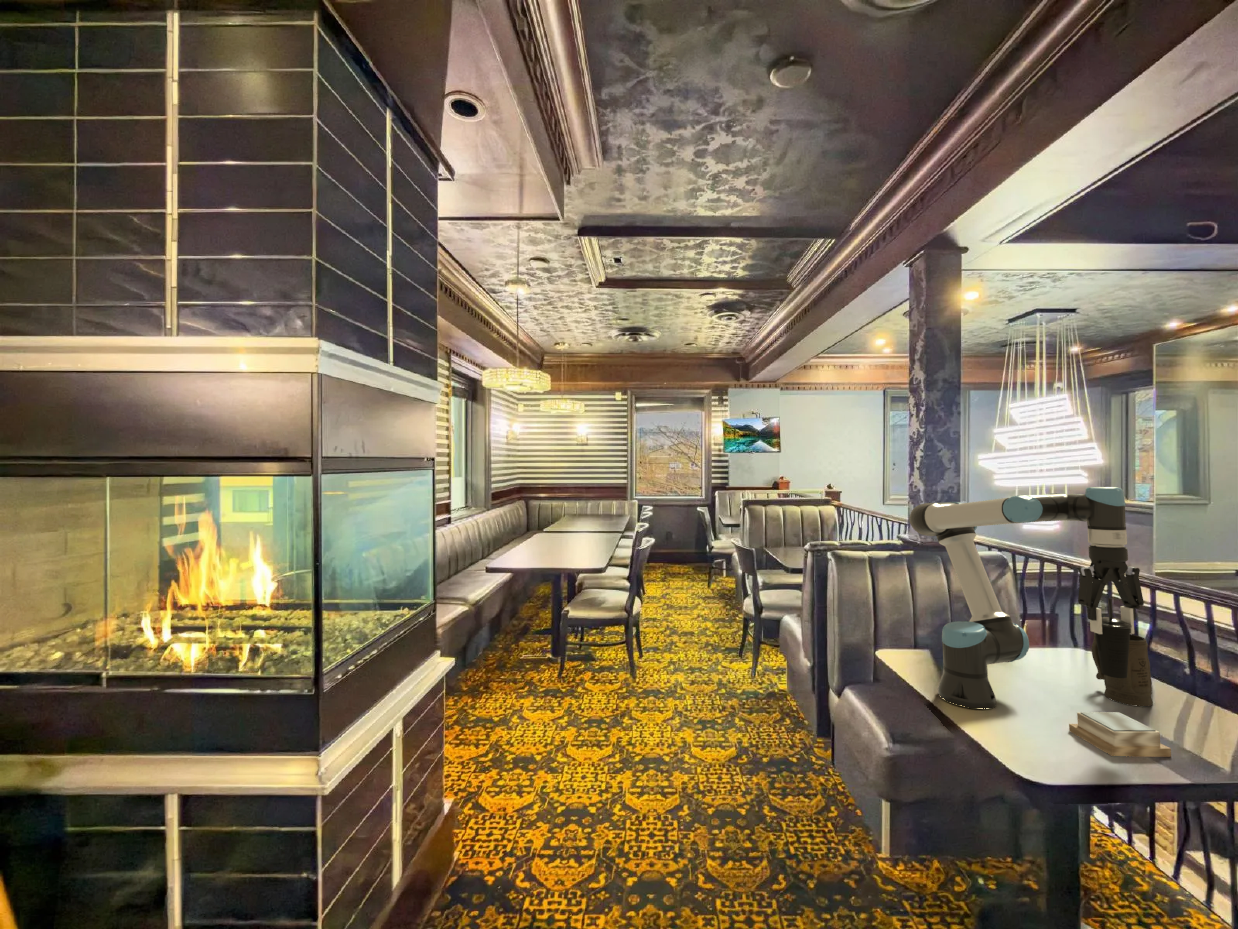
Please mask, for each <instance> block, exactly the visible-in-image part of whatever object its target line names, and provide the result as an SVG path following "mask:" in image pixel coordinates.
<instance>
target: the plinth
mask: <svg viewBox="0 0 1238 929" xmlns="http://www.w3.org/2000/svg"><path fill="white" fill-rule="evenodd" d="M1076 718H1077V723H1068V728H1069V729H1068V730H1069V732H1070V733H1072V734H1073V733H1074V735H1075V736H1077V737H1078V736H1079V738H1080V739H1082V740H1084V741H1086V742H1087V743H1089V744H1090V745H1092V746H1094V747H1095V748H1097V749H1099V750H1101V751H1102V752H1104V753H1106V754H1107V753H1108V755H1109V756H1110V757H1112V756H1126V757H1127V756H1129V758H1130V757H1131V756H1132V758H1135V757H1136V758H1137V757H1138V758H1139V757H1142V758H1146V757H1149V758H1151V757H1153V758H1154V757H1155V758H1160V757H1164V758H1165V757H1166V758H1167V757H1168V758H1170V757H1171V758H1172V748H1171V747H1169V746H1167V745H1164V744H1162V743H1161V735H1160V734H1161V733H1160V731H1158V730H1156V729H1154V728H1152V727H1150V726H1148V725H1146V724H1144V723H1142V722H1140V721H1138V720H1136V719H1133V718H1131V717H1129V716H1128V715H1125V714H1123V713H1121V712H1119V711H1115V712H1113V711H1112V712H1111V711H1108V712H1107V711H1106V712H1105V711H1101V712H1100V711H1099V712H1098V711H1093V712H1091V711H1089V712H1088V711H1087V712H1086V711H1083V712H1082V711H1080V712H1076ZM1126 757H1125V758H1126Z"/></svg>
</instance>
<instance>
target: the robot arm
mask: <svg viewBox="0 0 1238 929" xmlns="http://www.w3.org/2000/svg"><path fill="white" fill-rule="evenodd" d="M1125 501H1126V499H1125V493H1124V490H1123V488H1121V487H1117V486H1105V487H1104V486H1094V487H1093V486H1092V487H1087V488H1085V493H1081V494H1077V493H1060V492H1059V493H1056V492H1055V493H1044V494H1021V495H1020V494H1019V495H1014V496H1010V497H1004V498H1003V497H1001V498H995V499H988V500H979V501H971V502H965V503H964V502H960V501H959V502H957V501H946V502H924V503H921V504H918V505H917V506H915V507H914V508H913V509H912V510H911V512H910V514H909V523H910V526H911V528H913V530H914V531H915V532H916V533H918V534H920V535H922V536H927V537H936V539H937V542H938V543H939V544H940V545H942V547H943V546H944V547H945V550H946V551H947V554H948V557H949V559H950V562H951V564H952V567H953V569H954V573H955V574H956V578H957V580H958V583H959V585H960V587H961V592H962V593H963V596H964V599H965V601H966V603H967V606H968V608H969V611H970V614H971V618H970V619H969V620H968V621H966V620H965V621H960V620H958V621H951V622H948V623H946V624H945V625H944V626H943V627H942V630H941V631H942V633H941V643H942V661H943V662H942V663H943V664H942V665H943V673H942V675H941V678H940V681H939V684H938V686H937V687H938V688H937V690H938V694H939V695H940V696H941V698H944V699H945V700H946V701H948V702H951V703H954V704H957V705H962V706H965V707H969V708H983V709H984V708H985V710H987V709H986V708H992V709H994V708H995V707H996V706H997V697H996V695H995V692H994V690H993V687H992V685H991V683H990V680H989V674H988V665H993V664H1002V663H1014V662H1015V661H1019V660H1022V659H1023V658H1024V657H1026V655H1027V654H1028V652H1029V649H1030V639H1029V637H1028V634H1027V632H1026V631H1025V629H1023V627H1020V625H1019V624H1017V623H1014V622H1013V620H1012V618H1011V616H1010V614H1008V613H1006V612H1004V611H1003V610H1002V608H1001V604H1000V602H999V600H998V597H997V595H996V593H995V590H994V588H993V586H992V583H991V581H990V579H989V576H988V574H987V571H986V569H985V567H984V563H983V561H982V558H981V556H980V554H979V552H978V550H977V547H976V544H975V538H976V537H977V534H976V530H977V528H978V527H986V526H993V525H994V526H995V525H996V526H998V525H999V526H1000V525H1010V524H1026V523H1027V524H1028V523H1038V522H1040V523H1041V522H1058V521H1059V522H1060V521H1061V522H1063V521H1067V522H1068V521H1070V522H1071V521H1072V522H1086V526H1087V543H1089V545H1088V557H1089V559H1090V564H1089V566H1087V567H1085V566H1080V567H1078V573H1079V585H1078V586H1079V587H1078V596H1077V597H1078V598H1077V599H1078V600H1077V603H1078V604H1079V605H1082V606H1085V608H1086V613H1087V619H1088V620H1089V627H1090V632H1092V633H1094V634H1095V633H1098V634H1102V608H1099V605H1100V602H1101V599H1102V596H1103V593H1104V591H1105V590H1104V589H1105V587H1106V585H1108V583H1109V582H1112V583H1113V584H1114V586H1115V589H1116V592H1117V593H1118V595H1119V598H1120V599H1121V602H1122V604H1123V605H1121V606H1120V620H1122V621H1125V622H1127V623H1129V624H1131V625H1132V628H1130V634H1132V635H1135V623H1134V621H1135V620H1136V619H1137V617H1136V610H1138V609H1140V606H1141V607H1142V606H1144V604H1145V602H1144V598H1143V592H1142V587H1141V581H1140V578H1139V577H1140V570H1141V569H1140V568H1139V567H1134V566H1128V564H1127V563H1126V562H1127V561H1128V560H1129V552H1128V551H1129V550H1128V548H1127V546H1126V545H1127V544H1128V536H1127V534H1128V532H1127V524H1126V522H1127V521H1126V505H1127V503H1126V502H1125ZM939 695H938V696H939ZM941 698H940V699H941ZM946 701H945V702H946ZM948 702H947V703H948ZM951 703H950V704H951ZM995 705H996V706H995ZM993 707H994V708H993ZM969 708H968V709H969Z"/></svg>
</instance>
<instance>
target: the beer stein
mask: <svg viewBox="0 0 1238 929" xmlns="http://www.w3.org/2000/svg"><path fill="white" fill-rule="evenodd" d="M1148 647H1149V645H1148V641H1147V639H1146V638H1144V637H1143V636H1140V635H1135V634H1130V641H1129V657H1128V672H1127V678H1114V677H1110V676H1106V675H1104V674H1102V671H1101V665H1100V659H1099V654H1098V648H1097V642H1096V636H1095V633H1093V641H1092V644H1091V649H1090V650H1091V656H1092V660H1093V662H1094V664H1095V667H1096V670H1097V673H1096V675H1095V678H1096V679H1097V680H1099V681H1100V680H1103V682H1104V687H1105V689H1104V696H1105V697H1106V698H1107V699H1109V698H1110V699H1109V700H1111V699H1112V700H1111V701H1113V700H1114V702H1115V703H1116V702H1117V703H1119V702H1121V703H1120V704H1123V703H1124V704H1123V705H1127V704H1128V706H1132V705H1137V706H1136V707H1140V706H1148V707H1151V706H1153V704H1154V702H1153V698H1152V694H1153V692H1152V691H1153V690H1152V689H1153V686H1152V684H1153V682H1152V674H1151V664H1150V659H1149V653H1148Z"/></svg>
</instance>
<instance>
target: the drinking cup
mask: <svg viewBox="0 0 1238 929" xmlns="http://www.w3.org/2000/svg"><path fill="white" fill-rule="evenodd" d="M1112 602H1113V601H1112V598H1110V597H1108V598H1107V603H1108V616H1106V617H1105V616H1103V617H1102V634H1098V633H1095V632H1094V634H1095V636H1096V642H1097V648H1098V654H1099V659H1100V665H1101V671H1102V674H1104V675H1106V676H1110V677H1114V678H1127V672H1128V657H1129V641H1130V628H1132V625H1131V624H1129V623H1127V622H1125V621H1122V620H1121V618H1120V619H1119V618H1115V617H1114V614H1113V603H1112Z"/></svg>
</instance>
